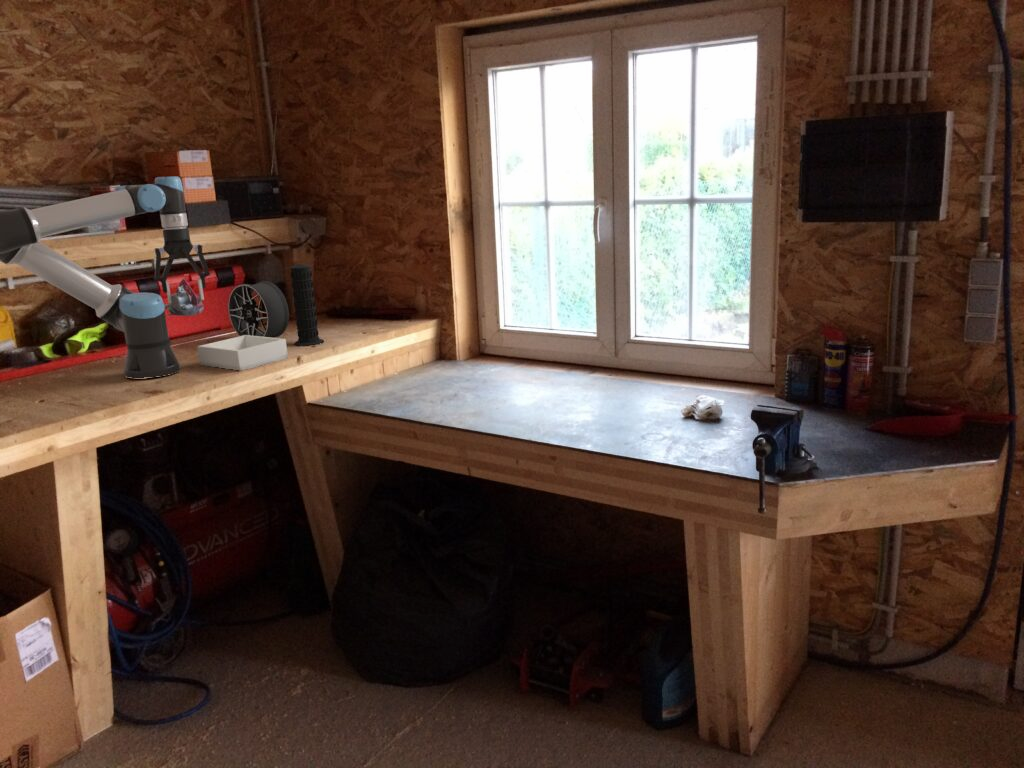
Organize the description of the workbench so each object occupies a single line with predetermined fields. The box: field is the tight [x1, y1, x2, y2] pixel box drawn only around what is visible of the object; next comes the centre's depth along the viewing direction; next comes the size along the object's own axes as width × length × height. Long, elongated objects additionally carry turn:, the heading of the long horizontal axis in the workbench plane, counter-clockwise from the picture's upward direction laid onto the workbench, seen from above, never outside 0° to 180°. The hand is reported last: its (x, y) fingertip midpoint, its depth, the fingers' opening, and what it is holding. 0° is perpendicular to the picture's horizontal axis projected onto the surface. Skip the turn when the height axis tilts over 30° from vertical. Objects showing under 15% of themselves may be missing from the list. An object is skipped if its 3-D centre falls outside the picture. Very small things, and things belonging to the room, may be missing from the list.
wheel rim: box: [227, 280, 290, 338], centre depth 293 cm, size 20×9×20 cm, turn 56°
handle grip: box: [289, 263, 325, 347], centre depth 283 cm, size 10×26×10 cm
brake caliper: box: [164, 278, 204, 317], centre depth 268 cm, size 11×11×12 cm
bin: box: [197, 335, 289, 372], centre depth 262 cm, size 18×19×6 cm
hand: (186, 300), depth 268 cm, fingers closed on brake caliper, 9 cm apart
